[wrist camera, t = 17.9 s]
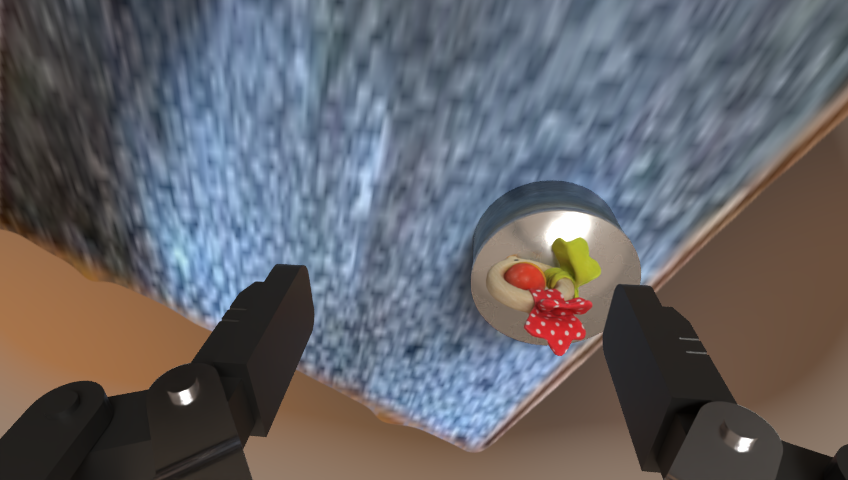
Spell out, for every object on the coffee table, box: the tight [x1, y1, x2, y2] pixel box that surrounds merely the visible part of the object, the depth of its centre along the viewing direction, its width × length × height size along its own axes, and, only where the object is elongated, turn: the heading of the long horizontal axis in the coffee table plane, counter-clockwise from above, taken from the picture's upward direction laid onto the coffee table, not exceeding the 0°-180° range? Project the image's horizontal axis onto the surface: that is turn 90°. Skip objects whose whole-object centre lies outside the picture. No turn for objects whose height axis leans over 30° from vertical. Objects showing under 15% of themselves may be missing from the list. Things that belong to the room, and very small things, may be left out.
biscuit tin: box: [471, 181, 641, 345], centre depth 47 cm, size 15×15×7 cm
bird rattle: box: [486, 237, 601, 356], centre depth 38 cm, size 6×11×9 cm
